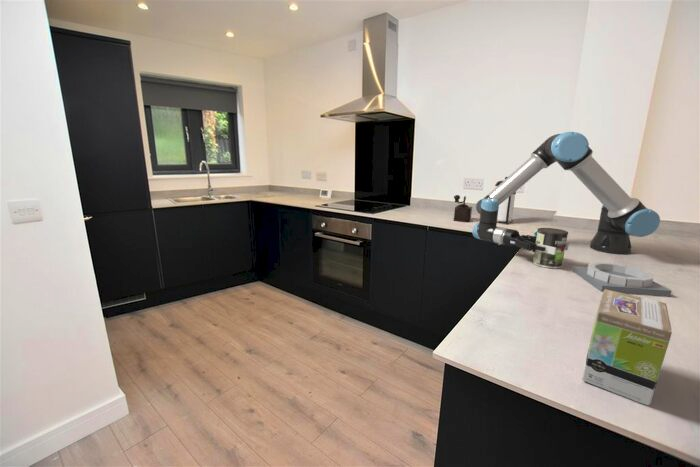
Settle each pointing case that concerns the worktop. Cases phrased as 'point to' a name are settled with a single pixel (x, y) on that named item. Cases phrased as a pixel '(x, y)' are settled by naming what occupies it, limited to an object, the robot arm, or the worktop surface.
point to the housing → (621, 279)
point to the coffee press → (506, 208)
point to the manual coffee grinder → (462, 211)
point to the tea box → (628, 345)
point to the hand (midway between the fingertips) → (561, 249)
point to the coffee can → (554, 240)
